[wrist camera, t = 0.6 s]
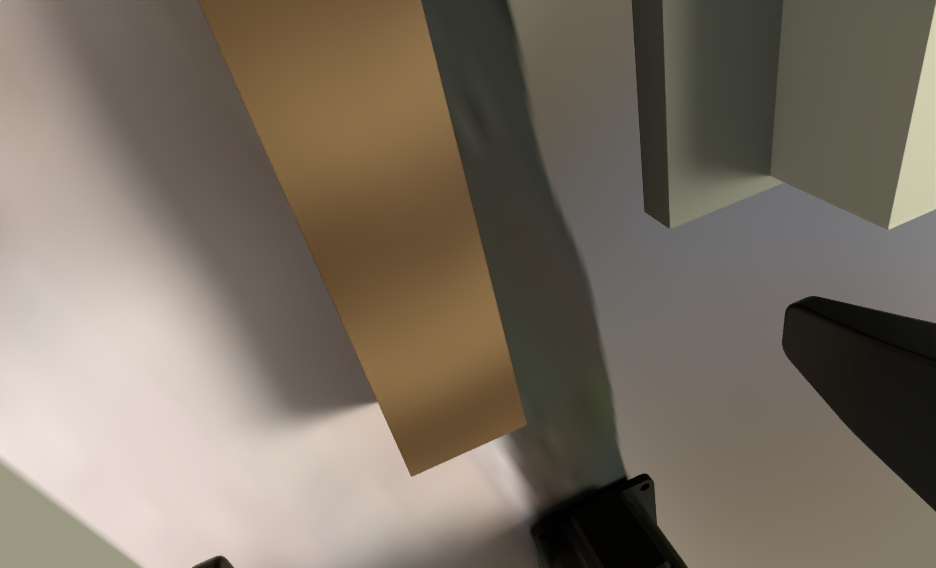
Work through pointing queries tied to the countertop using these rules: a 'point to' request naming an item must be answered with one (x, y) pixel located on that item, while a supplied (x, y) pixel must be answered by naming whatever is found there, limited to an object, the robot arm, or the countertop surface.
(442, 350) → the walnut beam
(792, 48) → the ridge stand
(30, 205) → the countertop surface
